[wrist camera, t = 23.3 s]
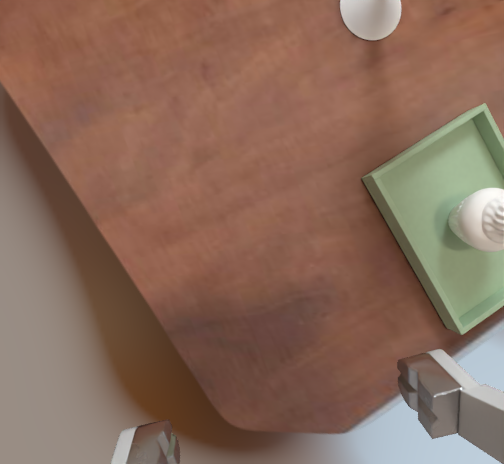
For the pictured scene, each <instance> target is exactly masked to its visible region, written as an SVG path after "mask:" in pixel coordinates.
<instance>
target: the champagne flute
mask: <svg viewBox="0 0 504 464" xmlns="http://www.w3.org/2000/svg"><path fill="white" fill-rule="evenodd" d="M340 11H341V15H342V18H343V21H344V23H345V24H346V26H347V27H348V29H349V30H350V31H351V32H352V33H354V34H355V35H356V36H358V37H360V38H362V39H366V40H379V39H383V38H385V37H387V36H388V35H389V34H391V33H392V32H393V31H394V30H395V28H396V27H397V25H398V23H399V20H400V17H401V2H400V0H340Z"/></svg>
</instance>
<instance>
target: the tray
mask: <svg viewBox="0 0 504 464" xmlns="http://www.w3.org/2000/svg"><path fill="white" fill-rule="evenodd" d="M362 180H363V182H364V184H365V185H366V187H367V189H368V191H369V192H370V194H371V196H372V198H373V199H374V201H375V203H376V205H377V207H378V208H379V210H380V212H381V214H382V215H383V217H384V219H385V221H386V222H387V224H388V226H389V228H390V229H391V231H392V233H393V235H394V236H395V238H396V240H397V242H398V243H399V245H400V247H401V249H402V251H403V252H404V254H405V256H406V258H407V259H408V261H409V263H410V265H411V266H412V268H413V270H414V272H415V273H416V275H417V277H418V279H419V280H420V282H421V284H422V286H423V287H424V289H425V291H426V293H427V295H428V296H429V298H430V300H431V302H432V303H433V305H434V307H435V309H436V310H437V312H438V314H439V316H440V317H441V319H442V321H443V323H444V324H445V326H446V328H448V329H450V330H452V331H454V332H456V333H458V334H461V335H463V334H464V333H466V332H467V331H468V330H470V329H471V328H473V327H474V326H476V325H477V324H478V323H480V322H481V321H483V320H484V319H485V318H487V317H488V316H490V315H491V314H493V313H494V312H495V311H497V310H498V309H500V308H501V307H503V306H504V249H503V250H501V251H497V252H484V251H480V250H477V249H475V248H474V247H472V246H471V245H468V244H467V243H466V242H464V241H462V240H461V239H460V238H459V237H458V236H457V235H456V234H454V233H453V231H451V229H450V228H449V227H450V226H449V225H448V224H449V223H448V221H449V220H448V218H449V215H450V212H451V210H452V209H453V208H454V207H455V206H457V205H458V204H459V203H460V202H461V201H462V200H464V199H465V198H467V197H468V196H469V195H472V194H473V193H475V192H477V191H479V190H481V189H485V188H500V189H503V190H504V139H503V137H502V135H501V133H500V131H499V129H498V127H497V125H496V123H495V121H494V119H493V117H492V115H491V113H490V111H489V109H487V106H486V104H485V103H484V104H482V105H480V106H477V107H475V108H473V109H471V110H468V111H467V112H465V113H464V114H462V115H460V116H459V117H457V118H456V119H454V120H452V121H451V122H449V123H448V124H446V125H445V126H443V127H441V128H440V129H438V130H437V131H435V132H433V133H432V134H430V135H429V136H427V137H426V138H424V139H422V140H421V141H419V142H418V143H416V144H414V145H413V146H411V147H410V148H408V149H407V150H405V151H403V152H402V153H400V154H399V155H397V156H395V157H394V158H392V159H391V160H389V161H388V162H386V163H384V164H383V165H381V166H380V167H378V168H376V169H375V170H373V171H372V172H370V173H369V174H367V175H365V176H364V177H362Z"/></svg>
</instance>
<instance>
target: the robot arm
mask: <svg viewBox="0 0 504 464" xmlns="http://www.w3.org/2000/svg"><path fill="white" fill-rule="evenodd" d="M397 368H398V370H399V371H400V372H401V374H400V376H399V377H398V386H399V389H400V392H401V394H402V396H403V398H404V400H405V402H406V403H407V404H408V406H409V407H410V408H412V409H413V410H415V411H417V412H418V420H419V421H420V423H421V424H422V425H423V427H424V428H425V429H426V431H427V432H428V434H429V435H430V436H431V438H432V439H434V438H438V437H443V436H446V435H451V434H455V433H458V434H459V435H460V436H461V437H463V438H464V439H466V440H468V441H469V442H471V443H472V444H473V445H475V446H477V447H478V448H480V449H481V450H483V451H484V452H486V453H487V454H489V455H490V456H492V457H493V458H495V459H496V460H498V461H499V462H501V463H502V464H504V392H503V391H501V390H498V389H496V388H493V387H491V386H489V385H486V384H483V385H480V384H479V383H478V382H477V381H476V380H475V379H474V378H472V377H471V376H470V375H469V374H468V373H467V372H466V371H465V370H464V369H463V368H462V367H461V366H460V365H458V364H457V363H456V362H455V361H454V360H453V359H452V358H451V357H450V356H449V355H448V354H447V353H446V352H444V351H443V350H441V349H437V350H434V351H430V352H426V353H421V354H418V355H414V356H410V357H407V358H403V359H399V360H398V362H397ZM171 432H172V425H171V423H170V421H169V420H163V421H159V422H154V423H150V424H145V425H141V426H137V427H134V428H129V429H125V430H123V431H122V432H121V434H120V435H119V438H118V442H117V444H116V447H115V451H114V454H113V457H112V460H111V463H110V464H179V463H180V449H179V444H178V440H177V437H176V436H175V435H173V434H172V433H171Z"/></svg>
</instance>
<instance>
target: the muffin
mask: <svg viewBox="0 0 504 464" xmlns="http://www.w3.org/2000/svg"><path fill="white" fill-rule="evenodd" d="M448 220H449V221H448V223H449V224H448V225H449V226H450V227H449V228H450V229H451V231H453V233H454V234H456V235H457V236H458V237H459V238H460V239H461V240H462V241H464V242H466V243H467V244H468V245H471V246H472V247H474V248H475V249H477V250H480V251H484V252H497V251H501V250H503V249H504V190H503V189H500V188H485V189H481V190H479V191H477V192H475V193H473V194H472V195H469V196H468V197H467V198H465V199H464V200H462V201H461V202H460V203H459V204H458V205H457V206H455V207H454V208H453V209H452V210H451V212H450V215H449V218H448Z"/></svg>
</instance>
